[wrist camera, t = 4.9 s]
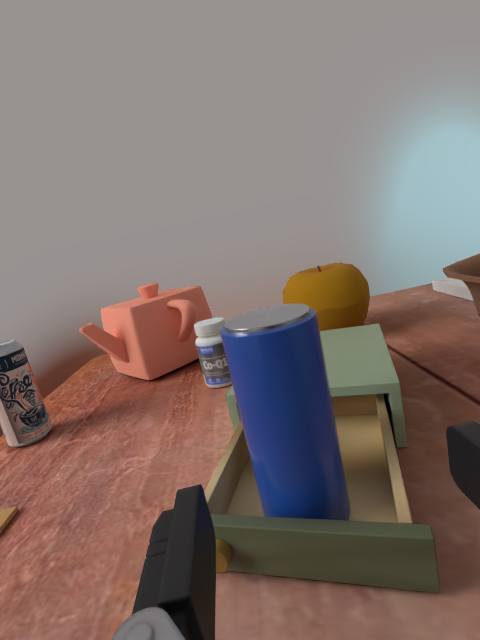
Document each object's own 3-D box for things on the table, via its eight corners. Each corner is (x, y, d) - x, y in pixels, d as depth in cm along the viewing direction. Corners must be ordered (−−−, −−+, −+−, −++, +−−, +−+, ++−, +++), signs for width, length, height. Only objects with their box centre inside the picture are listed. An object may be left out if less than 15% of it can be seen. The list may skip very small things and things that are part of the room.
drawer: (446, 612, 14) (439, 555, 14) (183, 581, 19) (168, 535, 18) (394, 415, 29) (390, 383, 28) (253, 422, 33) (247, 394, 32)
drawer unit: (408, 447, 25) (399, 382, 24) (238, 450, 30) (225, 395, 28) (385, 367, 39) (379, 323, 38) (271, 377, 43) (263, 338, 42)
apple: (275, 344, 56) (261, 276, 54) (333, 321, 62) (323, 259, 59) (331, 359, 45) (316, 273, 42) (396, 329, 50) (386, 252, 48)
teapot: (170, 343, 73) (153, 279, 70) (242, 351, 56) (223, 268, 54) (76, 383, 60) (49, 306, 57) (134, 408, 44) (101, 302, 41)
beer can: (29, 450, 38) (-11, 350, 36) (0, 450, 40) (-40, 355, 38) (62, 426, 43) (29, 336, 40) (34, 427, 45) (1, 340, 42)
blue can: (351, 548, 18) (311, 321, 15) (255, 541, 19) (203, 336, 17) (349, 478, 22) (318, 297, 20) (272, 477, 24) (234, 310, 21)
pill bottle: (206, 392, 43) (189, 329, 42) (205, 378, 48) (191, 321, 46) (242, 383, 44) (227, 320, 42) (238, 370, 48) (225, 313, 46)
